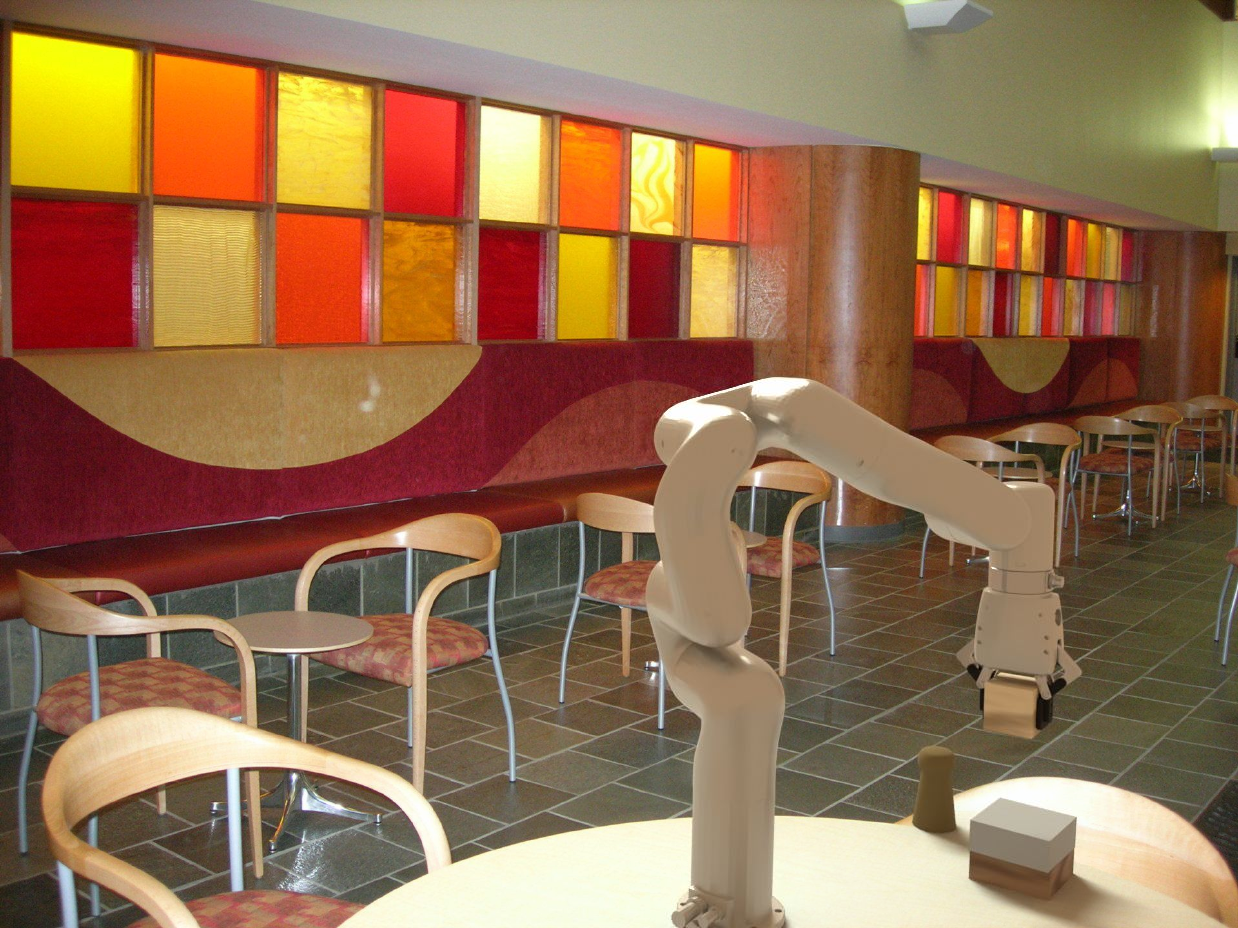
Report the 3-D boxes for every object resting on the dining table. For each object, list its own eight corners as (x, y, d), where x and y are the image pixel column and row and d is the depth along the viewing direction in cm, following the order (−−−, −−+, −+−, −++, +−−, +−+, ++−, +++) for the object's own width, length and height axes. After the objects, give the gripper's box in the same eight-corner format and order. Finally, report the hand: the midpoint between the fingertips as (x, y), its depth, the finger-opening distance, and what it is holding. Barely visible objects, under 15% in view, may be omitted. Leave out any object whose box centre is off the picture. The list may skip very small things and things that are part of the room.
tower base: (1048, 904, 145) (1050, 872, 145) (968, 881, 151) (969, 850, 151) (1072, 876, 153) (1074, 846, 153) (996, 855, 159) (997, 826, 159)
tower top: (1048, 872, 145) (1049, 841, 144) (968, 850, 151) (970, 819, 150) (1075, 847, 152) (1076, 816, 152) (998, 826, 159) (1000, 797, 158)
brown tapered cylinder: (957, 834, 165) (961, 757, 164) (912, 830, 166) (915, 753, 165) (954, 818, 171) (957, 743, 170) (911, 814, 172) (914, 739, 171)
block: (1031, 738, 146) (1033, 691, 145) (983, 729, 150) (984, 682, 149) (1046, 726, 151) (1048, 679, 150) (999, 717, 154) (1000, 672, 154)
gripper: (1100, 584, 146) (1094, 727, 148) (963, 569, 156) (959, 702, 158) (1083, 594, 140) (1077, 743, 142) (941, 578, 150) (938, 717, 152)
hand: (1015, 720), depth 150 cm, fingers closed on block, 6 cm apart
